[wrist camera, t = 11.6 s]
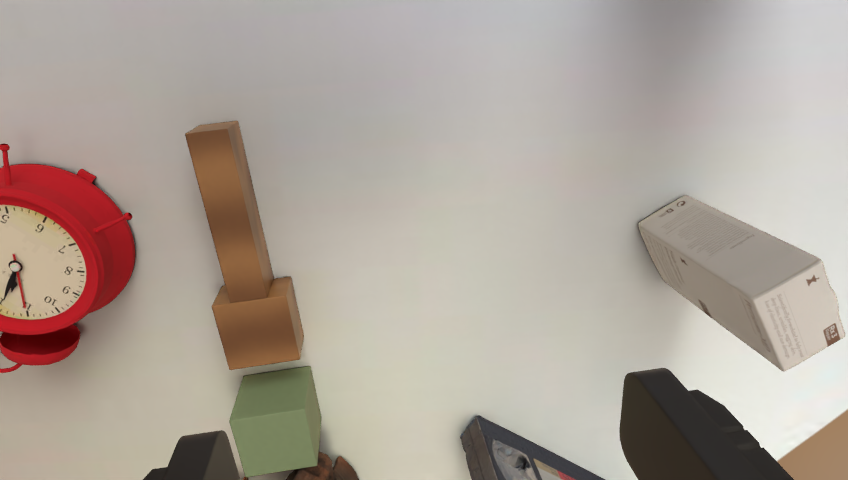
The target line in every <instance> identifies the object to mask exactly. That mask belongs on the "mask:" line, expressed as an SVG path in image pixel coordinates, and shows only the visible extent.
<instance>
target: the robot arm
mask: <svg viewBox="0 0 848 480" xmlns="http://www.w3.org/2000/svg"><path fill="white" fill-rule="evenodd" d="M620 440H621V445H622V449H623V452H624V455H625V457H626V459H627V462H628V463H629V465H630V467H631V468H632V470H633V472H634V473H635V475H636V477H637V478H638V480H794V479H793V478H792V477H791V476H790V475H789V474H788V473H787V472H786V471H785V470H784V469H783V468H782V467H781V466H780V465H779V463H778V462H777V461H776V460H775V459H774V458H773V457H772V456H771V455H770V454H769V453H768V452H767V451H766V450H765V449H764V448H761V447H760V445H759V442H758V441H757V440H756V439H755V438H754V437H753V436H752V435H751V434H750V433H749V432H748V431H747V430H744V429H743V425H742V424H741V423H740V422H739V421H738V420H737V419H736V418H735V417H734V416H733V415H732V414H731V413H730V412H729V411H728V410H727V408H726V407H725V406H724V405H722V404H720V403H719V402H717V401H715V400H714V399H712V398H710V397H709V396H707V395H705V394H704V393H702V392H701V391H699V390H692V391H688V390H687V389H686V388H685V387H684V386H683V385H682V384H681V382H680V381H679V380H678V379H677V378H676V377H675V376H674V375H673V373H672V372H671V371H669V370H668V369H666V368H659V369H652V370H645V371H638V372H631V373H628V374H627V375H626V376H625V379H624V388H623V399H622V410H621V420H620ZM143 480H240V477H239V474H238V470H237V467H236V463H235V460H234V457H233V453H232V450H231V446H230V443H229V440H228V437H227V434H226V433H225V432H224V431H222V430H221V431H214V432H208V433H201V434H194V435H187V436H182V437H181V438H180V439H179V441H178V443H177V445H176V447H175V450H174V452H173V455H172V457H171V460H170V462H169V465H168V467H166V468H159V469H152V470H151V471H150V473H149V474H148V475H147V476H146V477H145V478H144V479H143Z"/></svg>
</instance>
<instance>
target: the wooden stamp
mask: <svg viewBox="0 0 848 480" xmlns="http://www.w3.org/2000/svg"><path fill="white" fill-rule="evenodd" d="M185 136H186V140H187V143H188V147H189V151H190V154H191V158H192V162H193V166H194V169H195V173H196V177H197V181H198V184H199V188H200V192H201V196H202V199H203V203H204V207H205V211H206V214H207V218H208V222H209V226H210V229H211V233H212V237H213V241H214V244H215V248H216V252H217V256H218V259H219V263H220V267H221V271H222V274H223V278H224V282H225V286H222V288H221V289H220V291H219V293H218V295H217V297H216V299H215V301H214V303H213V305H212V310H213V313H214V317H215V320H216V324H217V327H218V331H219V334H220V338H221V341H222V345H223V348H224V352H225V356H226V359H227V363H228V366H229V369H230V370H233V369H240V368H246V367H253V366H260V365H266V364H273V363H279V362H286V361H293V360H299V359H300V356H301V350H302V344H303V338H304V335H303V330H302V325H301V321H300V316H299V311H298V307H297V302H296V297H295V293H294V288H293V283H292V279H291V277H284V278H277V279H273V278H274V277H273V273H272V268H271V264H270V260H269V255H268V251H267V247H266V242H265V238H264V233H263V229H262V225H261V220H260V216H259V211H258V207H257V203H256V198H255V194H254V189H253V185H252V181H251V176H250V172H249V167H248V163H247V159H246V154H245V150H244V145H243V141H242V137H241V132H240V128H239V124H238V121H231V122H223V123H214V124H206V125H199V126H198V127H196V128H194V129H193V130H191V131H189V132H187V133H186V134H185Z"/></svg>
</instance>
